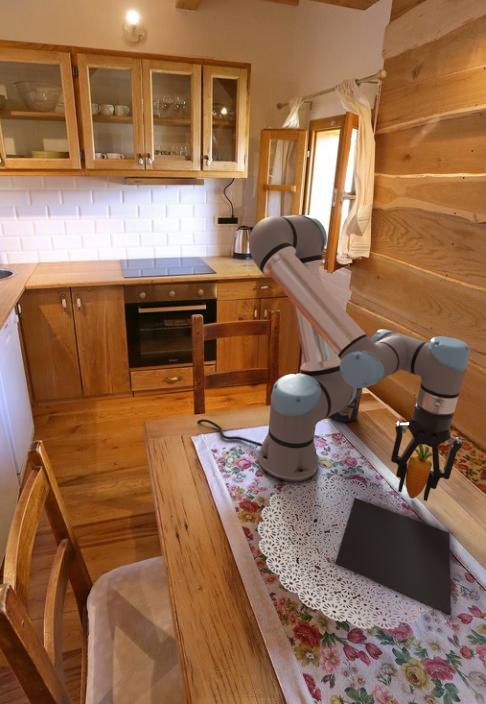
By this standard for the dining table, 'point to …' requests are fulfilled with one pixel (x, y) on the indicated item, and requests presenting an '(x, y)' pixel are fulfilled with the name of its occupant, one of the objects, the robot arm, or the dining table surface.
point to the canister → (349, 409)
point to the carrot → (418, 471)
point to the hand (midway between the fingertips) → (412, 492)
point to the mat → (398, 553)
